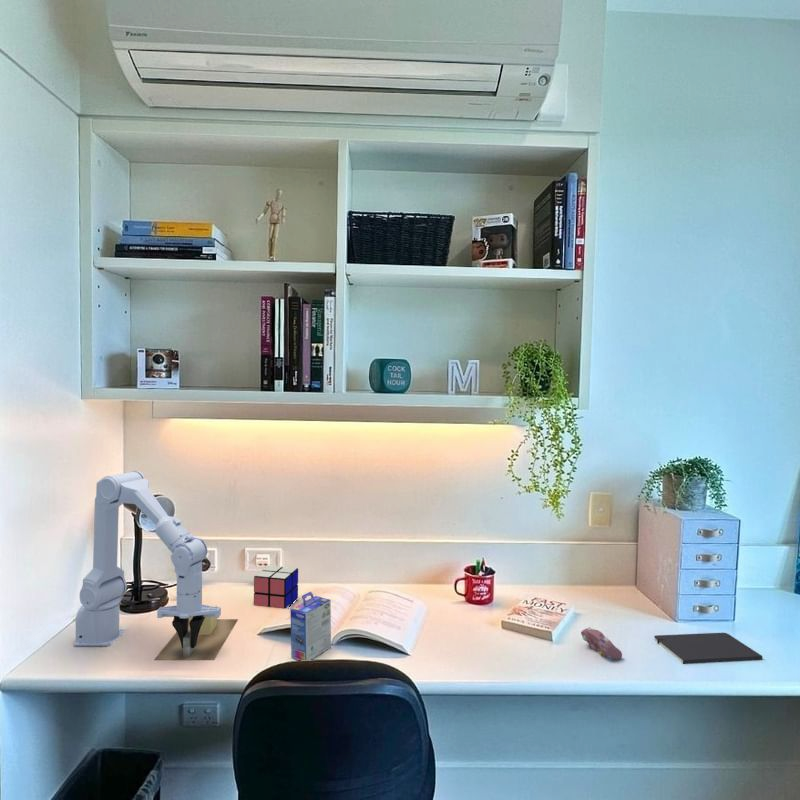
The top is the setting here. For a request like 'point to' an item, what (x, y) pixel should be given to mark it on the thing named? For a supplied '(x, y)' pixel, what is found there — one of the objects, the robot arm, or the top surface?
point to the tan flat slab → (198, 644)
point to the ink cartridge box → (310, 627)
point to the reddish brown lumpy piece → (600, 643)
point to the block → (207, 624)
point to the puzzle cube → (276, 587)
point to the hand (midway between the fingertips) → (189, 646)
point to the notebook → (706, 648)
